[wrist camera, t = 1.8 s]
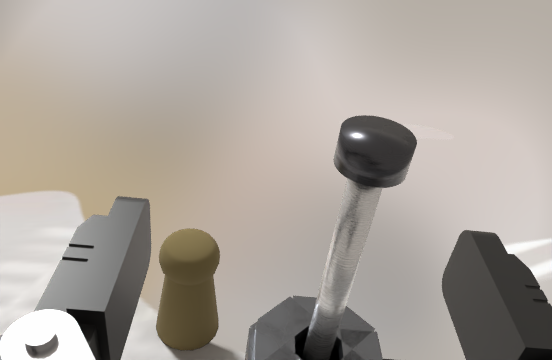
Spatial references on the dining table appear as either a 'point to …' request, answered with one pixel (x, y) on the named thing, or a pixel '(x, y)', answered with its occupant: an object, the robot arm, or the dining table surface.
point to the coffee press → (294, 329)
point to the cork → (188, 290)
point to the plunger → (355, 217)
